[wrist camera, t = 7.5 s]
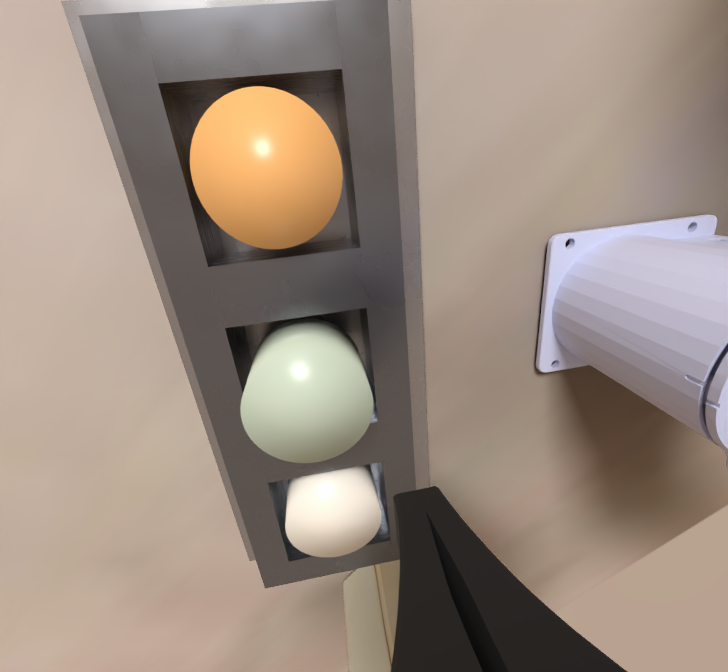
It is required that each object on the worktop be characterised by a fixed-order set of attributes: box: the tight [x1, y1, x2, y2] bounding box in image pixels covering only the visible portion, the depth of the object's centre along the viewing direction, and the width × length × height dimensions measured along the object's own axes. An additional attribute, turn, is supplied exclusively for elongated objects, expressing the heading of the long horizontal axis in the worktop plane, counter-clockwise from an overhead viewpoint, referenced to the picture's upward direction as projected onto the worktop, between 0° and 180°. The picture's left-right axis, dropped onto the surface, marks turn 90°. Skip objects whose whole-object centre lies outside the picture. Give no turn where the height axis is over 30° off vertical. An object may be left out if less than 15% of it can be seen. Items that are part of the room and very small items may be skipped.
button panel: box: [61, 0, 430, 588], centre depth 17 cm, size 12×28×4 cm, turn 6°
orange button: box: [190, 86, 343, 249], centre depth 13 cm, size 5×5×3 cm
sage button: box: [240, 318, 373, 463], centre depth 15 cm, size 5×5×3 cm
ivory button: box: [285, 464, 382, 557], centre depth 20 cm, size 5×5×3 cm
